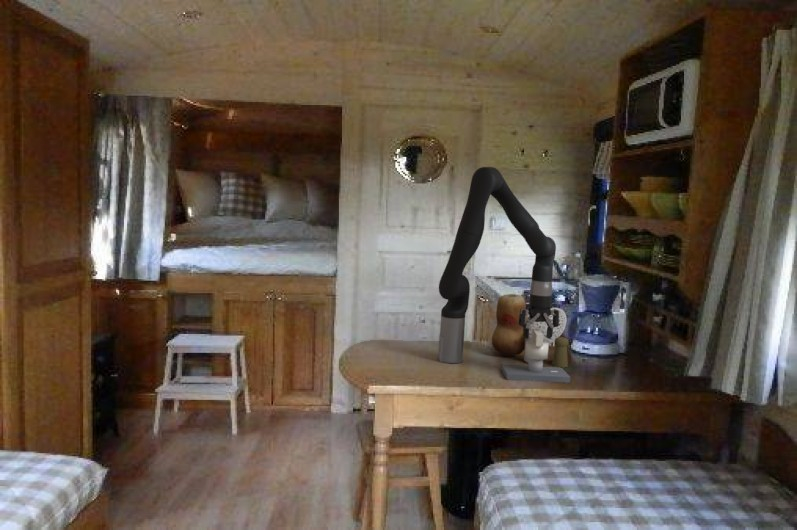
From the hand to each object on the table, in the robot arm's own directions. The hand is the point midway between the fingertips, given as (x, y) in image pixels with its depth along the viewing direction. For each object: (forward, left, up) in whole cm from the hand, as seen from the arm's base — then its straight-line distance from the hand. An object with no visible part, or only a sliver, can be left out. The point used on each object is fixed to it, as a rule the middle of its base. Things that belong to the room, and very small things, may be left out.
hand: (537, 338), depth 218 cm
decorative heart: (+14, +46, -14) cm, 50 cm away
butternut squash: (-5, +27, -14) cm, 31 cm away
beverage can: (+3, +19, -14) cm, 24 cm away
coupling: (0, 0, -7) cm, 7 cm away
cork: (+13, +16, -14) cm, 25 cm away
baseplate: (0, 0, -14) cm, 14 cm away
